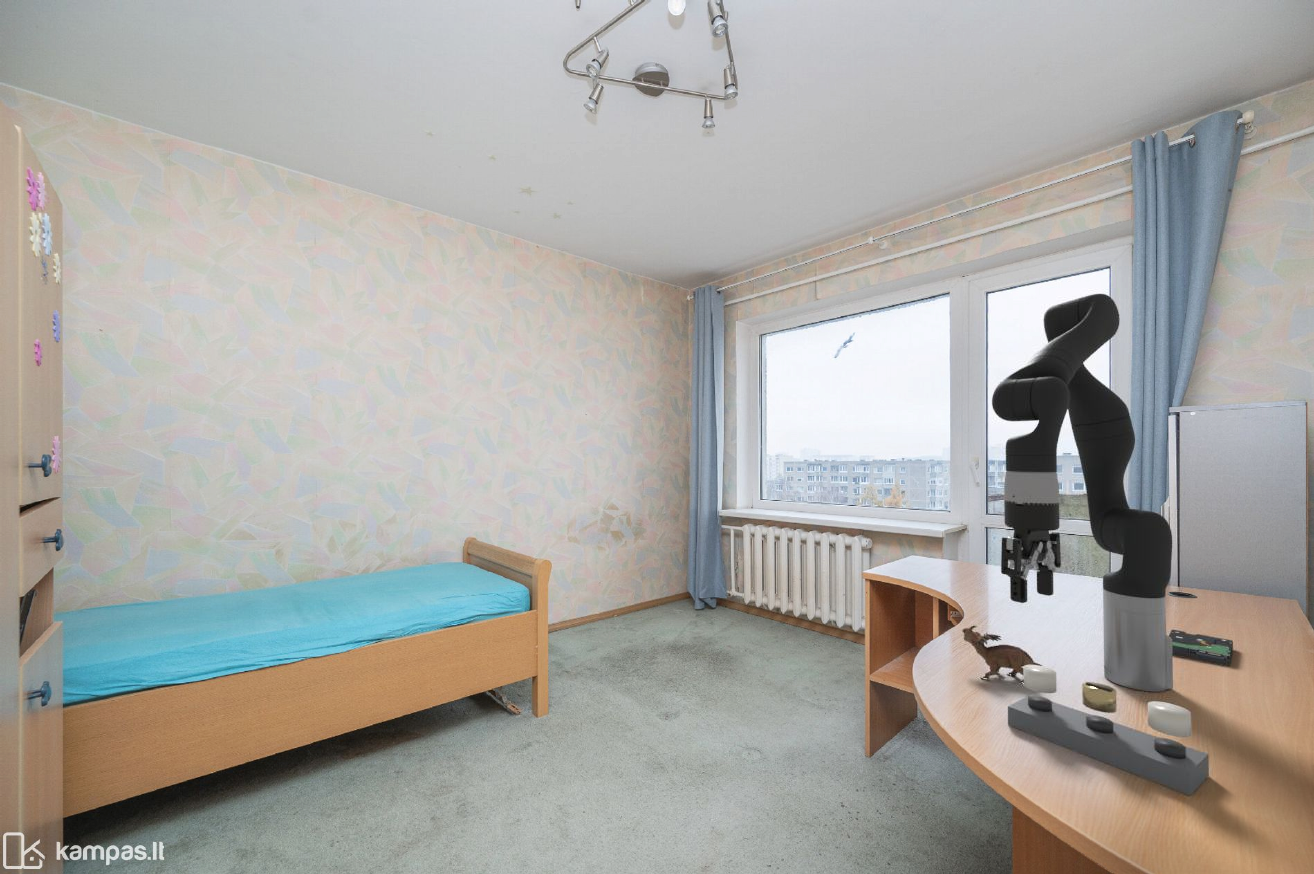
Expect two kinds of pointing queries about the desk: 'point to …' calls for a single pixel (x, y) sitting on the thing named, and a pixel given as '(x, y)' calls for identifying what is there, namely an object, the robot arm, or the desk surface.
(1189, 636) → the disk drive
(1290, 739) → the desk surface
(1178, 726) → the cream knob
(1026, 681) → the cream knob
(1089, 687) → the brass dial
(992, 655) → the dinosaur figurine
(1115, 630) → the robot arm
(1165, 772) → the control strip
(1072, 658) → the desk surface
